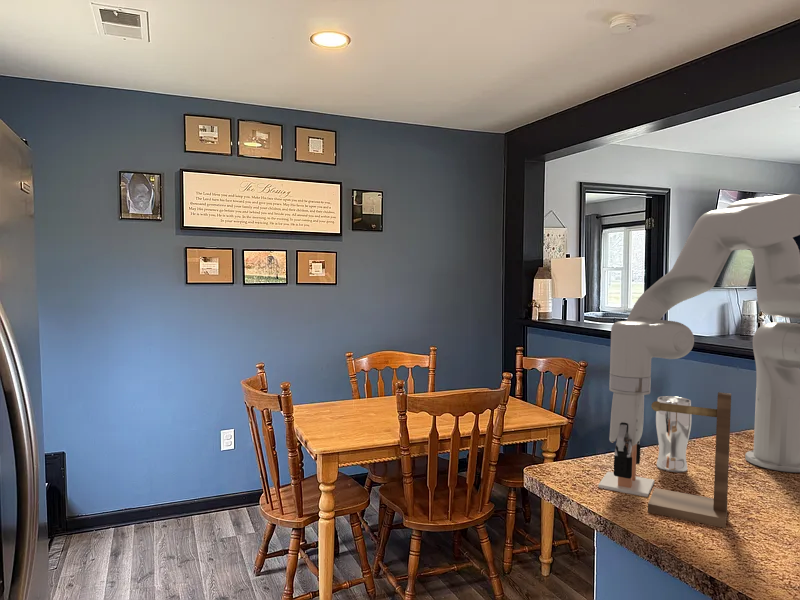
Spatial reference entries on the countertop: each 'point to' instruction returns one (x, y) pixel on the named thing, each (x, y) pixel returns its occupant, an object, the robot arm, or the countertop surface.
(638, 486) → the trivet
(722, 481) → the stand
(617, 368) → the robot arm
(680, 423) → the beer glass
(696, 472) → the countertop surface
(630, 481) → the link
